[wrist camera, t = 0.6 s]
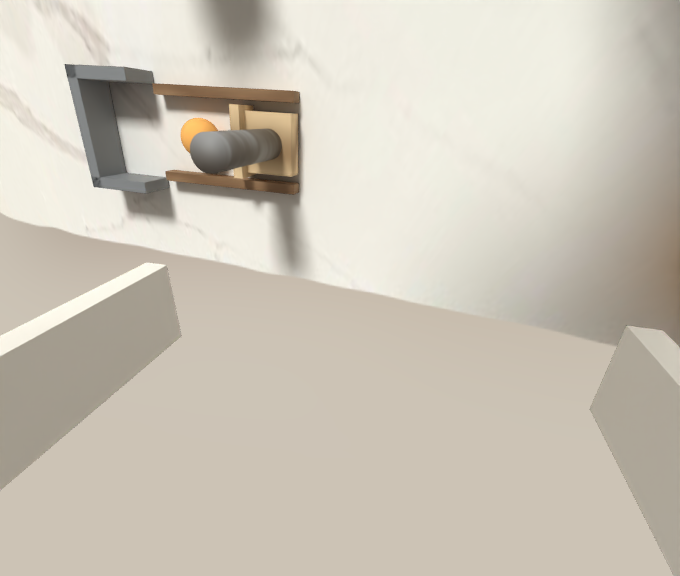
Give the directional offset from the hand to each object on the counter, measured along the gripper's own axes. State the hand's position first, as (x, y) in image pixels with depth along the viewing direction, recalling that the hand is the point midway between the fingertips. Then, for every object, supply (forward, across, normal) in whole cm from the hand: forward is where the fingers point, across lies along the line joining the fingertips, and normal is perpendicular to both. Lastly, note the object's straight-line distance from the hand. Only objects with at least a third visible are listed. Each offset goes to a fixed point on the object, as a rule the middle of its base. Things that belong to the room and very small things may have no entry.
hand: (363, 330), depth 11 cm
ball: (+28, -24, +3) cm, 37 cm away
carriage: (+30, -16, +3) cm, 34 cm away
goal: (+30, -33, +3) cm, 45 cm away
